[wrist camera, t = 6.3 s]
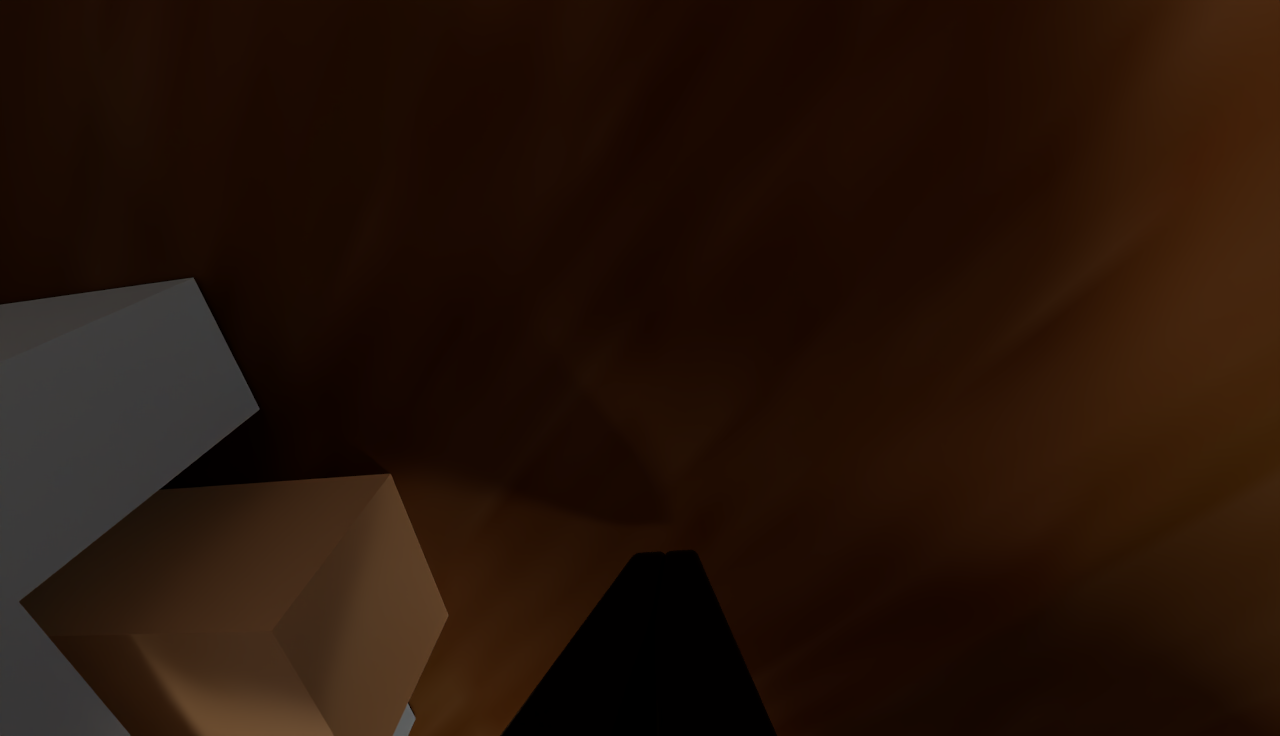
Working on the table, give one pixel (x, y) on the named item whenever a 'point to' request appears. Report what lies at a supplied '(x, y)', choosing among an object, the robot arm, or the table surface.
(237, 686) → the tan rectangular brick
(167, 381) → the sled
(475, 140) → the table surface
